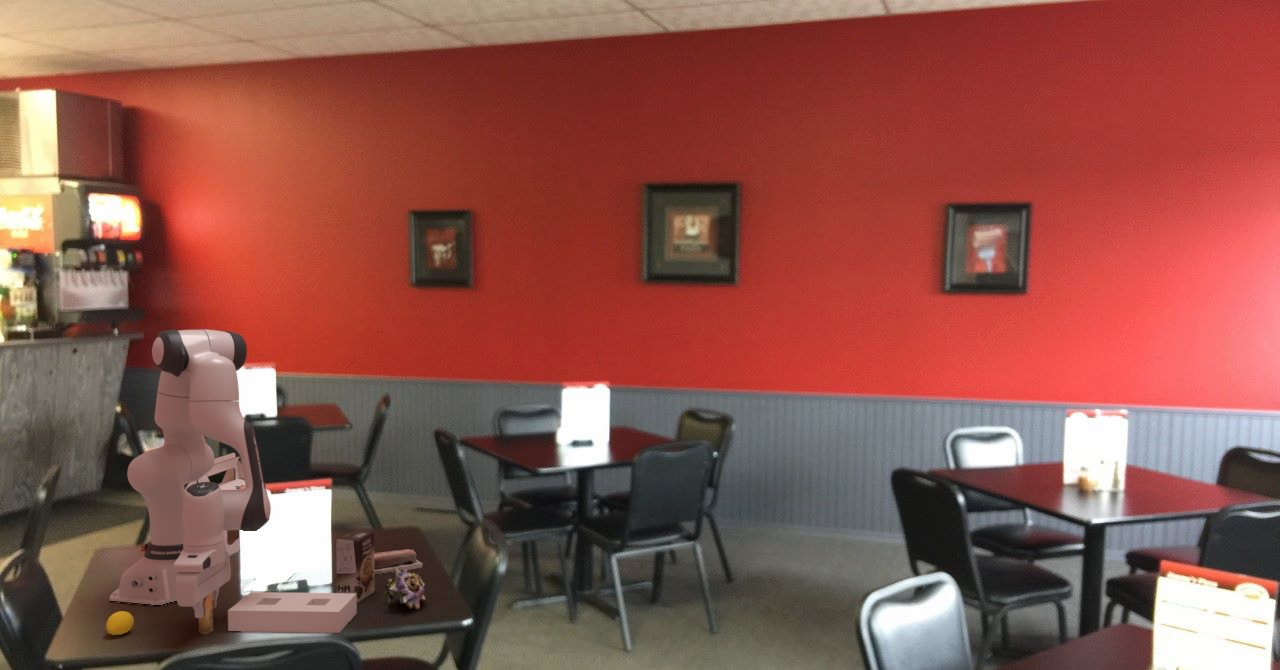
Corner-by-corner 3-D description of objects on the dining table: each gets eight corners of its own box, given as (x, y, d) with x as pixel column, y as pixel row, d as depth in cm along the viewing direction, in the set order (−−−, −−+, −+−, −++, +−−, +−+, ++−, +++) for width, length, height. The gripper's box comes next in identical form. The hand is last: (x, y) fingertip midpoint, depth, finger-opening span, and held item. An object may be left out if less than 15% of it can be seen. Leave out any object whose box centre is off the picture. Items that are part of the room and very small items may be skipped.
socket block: (228, 631, 229) (227, 610, 228) (251, 612, 242) (251, 592, 241) (339, 632, 228) (339, 611, 228) (356, 613, 241) (356, 593, 241)
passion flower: (416, 629, 245) (412, 601, 238) (375, 619, 247) (370, 590, 239) (433, 593, 254) (430, 564, 246) (394, 583, 255) (389, 554, 248)
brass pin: (196, 634, 227) (195, 591, 226) (202, 629, 230) (201, 587, 229) (209, 634, 227) (208, 592, 226) (215, 629, 230) (214, 587, 229)
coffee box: (359, 603, 249) (358, 540, 248) (335, 601, 250) (334, 538, 249) (375, 591, 258) (375, 531, 256) (353, 589, 259) (352, 529, 258)
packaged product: (359, 561, 269) (350, 552, 277) (359, 579, 269) (350, 569, 278) (423, 552, 278) (412, 544, 287) (423, 569, 278) (412, 560, 287)
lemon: (122, 642, 223) (119, 620, 222) (100, 640, 224) (97, 619, 223) (141, 627, 230) (139, 605, 229) (120, 625, 231) (117, 604, 230)
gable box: (219, 561, 284) (217, 465, 282) (178, 558, 286) (175, 463, 284) (261, 540, 306) (259, 451, 304) (222, 538, 308) (220, 449, 306)
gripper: (211, 541, 238) (212, 597, 238) (169, 566, 217) (171, 628, 218) (237, 541, 237) (238, 597, 238) (197, 567, 217) (199, 628, 218)
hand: (205, 612), depth 228 cm, fingers open, 4 cm apart
